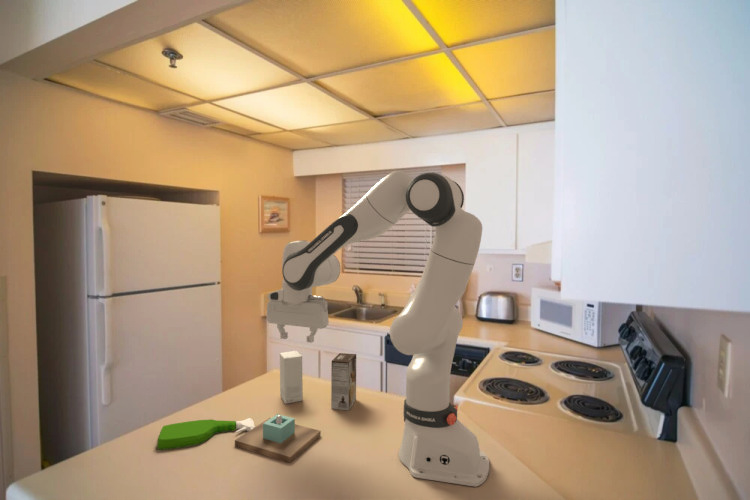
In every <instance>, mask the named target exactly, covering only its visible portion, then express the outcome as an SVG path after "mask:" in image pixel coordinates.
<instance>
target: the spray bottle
mask: <svg viewBox="0 0 750 500" xmlns="http://www.w3.org/2000/svg"><path fill="white" fill-rule="evenodd" d="M255 427H256V426H255V422H254V419H252V418H250V417H248V418H246V419H243V420H238V421H236V420H216V419H198V420H189V421H183V422H178V423H177V422H176V423H171V424H166V425H163V426H162V428H161V429H160V433H159V435H158V437H157V449H158V451H159V450H161V451H164V450H165V451H166V450H174V449H179V448H180V449H181V448H185V447H186V448H187V447H191V446H197V445H200V444H202V443H204V442H206V441H208V440H209V439H210V438H212V437H213V436H214V435H215V434H218V433H222V432H226V433H227V432H229V431H231V432H232V431H235V434H238V433H239V434H240V433H241V432H243V431H247V432H248V431H250V430H252V429H253V428H255Z"/></svg>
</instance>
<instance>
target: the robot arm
mask: <svg viewBox="0 0 750 500" xmlns="http://www.w3.org/2000/svg"><path fill="white" fill-rule="evenodd" d="M464 201H465V197H464V192H463V189H462V187H461V186H460V185H459V184H458V183H457V182H456V181H455V180H453V179H452V178H451V177H449V176H446V175H444V174H439V173H436V172H424V173H421V174H418V175H417V176H415V177H412V176H411V174H409V173H407V172H406V171H402V170H394V171H391V172H390V173H389V174H387V175H386V176H384V177H383V178H381V179H380V180H379V181H378V182H377V183H375V185H374V186H372V187H371V188H370V189H369V190H368V191H367V192H366V193H365V194H364V195H363V196H362V197H361V198H360V199H359V200H358V201H357V202H356V203H355V204H354V205H353V206H352V207H350V209H348V210H347V211H346V212H345V213H343V214H342V215H340V217H339V218H337V219H335V220H334V221H333V222H332V223H330V224H329V225H328V226H327V227H326V228H325V229H324V230H322V231H321V232H320V233H319V234H318V235H317V236H316V237H315V238H314V239H313V240H311V241H308V240H295V241H289V242H287V243H286V244H285V245H284V248H283V252H282V264H281V265H282V267H281V268H282V269H281V271H282V272H281V273H282V278H283V280H282V283H281V284H282V286H281V287H282V288H281V289H278V290H274V291H271V292H268V294H267V299H268V300H269V301H267V304H266V321H267V323H268V324H274V325H276V328H277V330H278V332H279V334H280V335H279V337H280V340H286V339H288V337H289V336H288V334H289V333H288V332H286V329H285V327H286V326H291V327H292V326H293V327H302V328H309V332H310V333H309V335H307V336H306V343H310V344H312V343H314V341H315V335H316V333H317V332H318V329H319V330H322V329H324V328H327V326H329V322H330V321H329V313H328V312H329V310H328V301H327V299H326V298H324V296H320V295H319V296H318V295H313V288H315V287H321V286H322V287H323V286H326V285H327V286H328V285H330V284H333V283H335V282H336V281H337V280H338V278H339V277H340V274H341V263H340V261H339V259H338V258H337V256H336V255H335V254H336V253H337V252H338V251H339V250H341V249H343V248H344V247H346V246H348V245H350V244H354V243H357V242H361V241H367V240H368V241H369V240H372V239H376V238H379V237H380V236H383V234H385V233H386V232H388V231H389V230H390V229H391V228H392V227H393V226H395V225H396V224H397V223H398V222H399V221H400V220H401V219H402V218H403V217H404V216H405V215H406V214H407V213H409V212H412V213H413V214H414V215H415V216H416V217H417V218H419V219H421V220H422V221H423V222H425V223H426V224H427V225H429V226H430V227H434V229H435V234H434V239H433V242H432V245H431V248H430V251H429V254H428V256H427V260H426V263H425V266H424V268H423V272H422V275H421V276H420V279H419V281H418V284H417V285H416V287H415V289H414V291H413V292H412V294H411V296H410V297H409V299H408V301H407V303H406V304H405V306H404V308H403V309H402V310H401V312H400V313H399V314H398V315H397V316H396V317H395V318H394V319H393V320H392V322H391V325H390V328H389V336H390V337H389V338H390V341H391V343H392V345H393V346H394V348H395V350H397V352H399V353H401V354H403V355H406V356H412V358H411V361H410V362H409V364H408V366H407V368H406V373H405V374H406V376H405V387H406V388H405V399H404V401H403V414H402V415H403V422H404V428H403V434H402V435H403V436H402V439H401V444H400V448H399V451H398V458H399V460H400V462H401V463H402V464H403V466H405V467H406V468H407V469H408V470H409V473H410V474H411V476H412V477H414V478H418V479H422V480H430V481H437V482H442V483H449V484H454V485H455V484H456V485H461V486H468V487H478V486H481V485H482V484H484V482H486V480H487V478H488V475H489V473H490V461H489V457H488V455H487V454H486V453H485V452H484V451H482V450H480V444H479V440H478V438H477V436H476V434H475V433H474V432H473V431H471V430H470V429H469V428H468V427H467V426H465V425H464V423H462V422H461V421H460V420H459V419H458V407H459V406H458V404H456V405H455V407H454V405H453V404H452V403H451V402H450V387H451V386H450V385H451V384H450V383H451V379H450V378H451V370H452V365H453V359H454V357H455V352H456V346H457V342H458V337H459V335H460V333H461V331H462V328H463V326H464V321H463V319H464V318H463V316H462V314H461V313H462V312H461V311H460V310H459V309H458V308H457V307H456V305H457V303H458V302H459V300H460V299H461V298H463V296H464V294H465V292H466V289H467V285H468V284H469V281H470V277H471V275H472V272H473V269H474V266H475V263H476V261H477V257H478V255H479V251H480V250H479V249H480V246H481V242H482V236H483V235H482V234H483V224H482V222H481V220H480V219H479V218H478V217H477V216H476V215H475V214H473V213H471V212H468V211H465V210H463V209H462V208H463V206H464Z"/></svg>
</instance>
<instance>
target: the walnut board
mask: <svg viewBox="0 0 750 500" xmlns="http://www.w3.org/2000/svg"><path fill="white" fill-rule="evenodd" d="M271 418H272V417H269V418H267V419H266V420H264V421H263V422H262V421H261V423H259V424H258V425H256V426H255V428H253V429H252V430H250V431H247V432H246V433H244V434H242V435H241V436H239V437H238V438H236V439H235V440H234V446H235V447H238V448H241V449H244V450H248V451H251V452H253V453H257V454H260V455H262V456H266V457H270V458H272V459H273V458H274V459H276V460H280V461H283V462H285V463H286V462H287V463H289V464H290V463H292V462H293V461H294V460H295V459H296V458H297V457H299V456H300V455H301V454H302V453H303V452H304V451H305V450H307V448H308V447H309V448H310V446H311V445H313V444H314V442H315V441H317V440H318V439H319V438H320V437H321V436H322V435H321V434H322V433H321V431H322V430H319V429H314V428H311V427H307V426H303V425H300V424H296V423H295V433H294V434H292V435H291V436H290V437H288V438H287V439H286V440H285V441H283V442H282V443H278V442H274V441H271V440H267V439H264V438H263V423H265V422H266V421H268V420H269V419H271Z"/></svg>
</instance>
